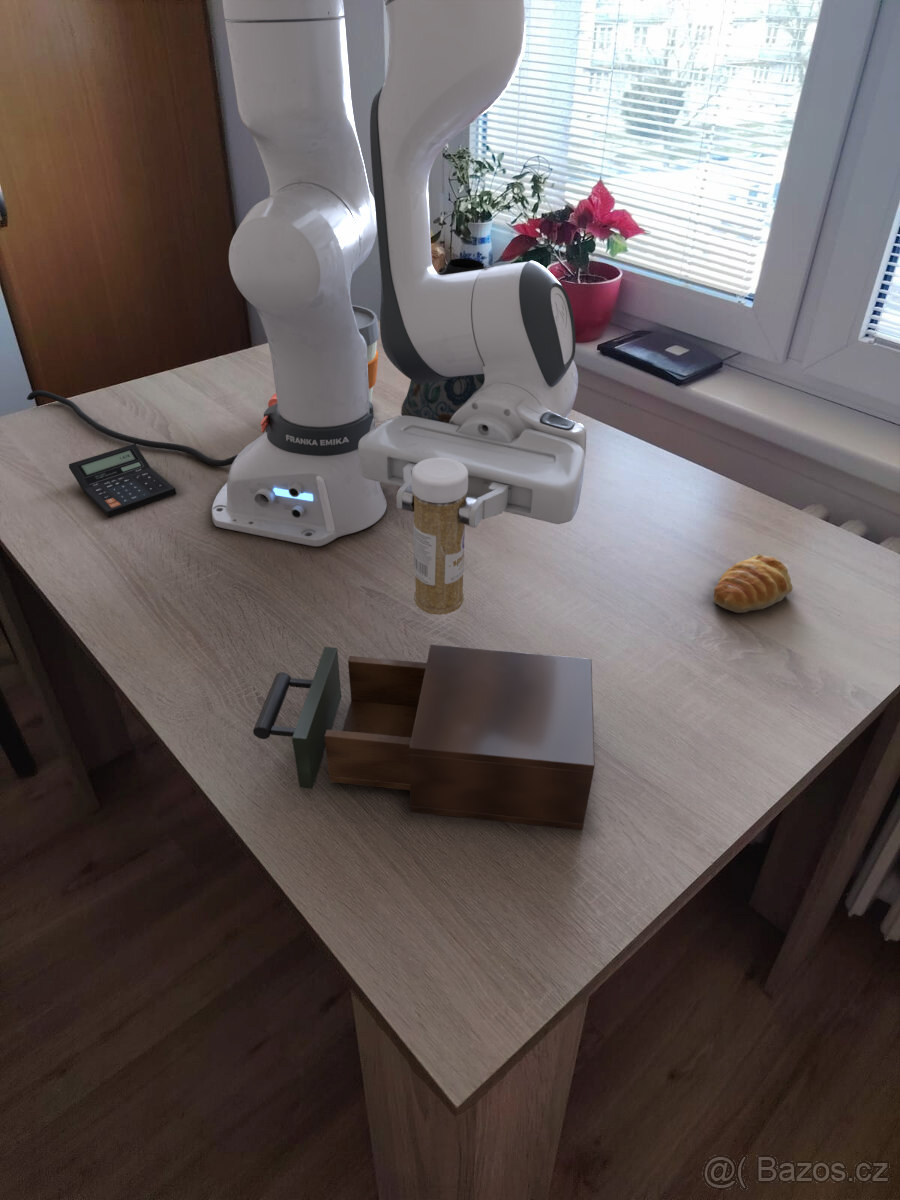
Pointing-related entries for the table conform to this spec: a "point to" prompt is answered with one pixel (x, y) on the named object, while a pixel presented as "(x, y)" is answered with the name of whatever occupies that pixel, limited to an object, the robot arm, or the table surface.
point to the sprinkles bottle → (438, 534)
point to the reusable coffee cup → (368, 340)
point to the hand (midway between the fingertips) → (435, 510)
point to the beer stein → (449, 393)
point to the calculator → (120, 480)
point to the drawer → (351, 721)
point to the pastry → (753, 584)
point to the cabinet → (503, 737)
